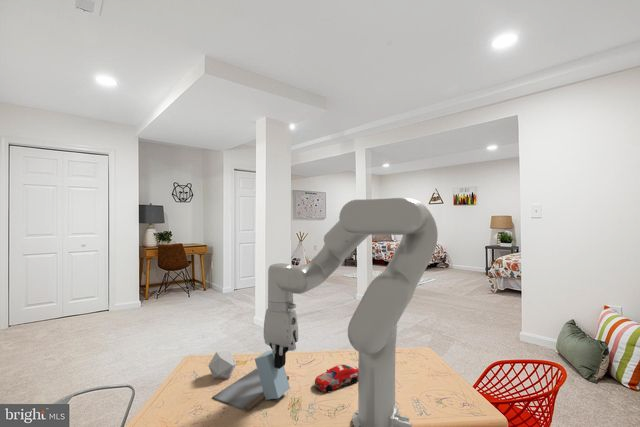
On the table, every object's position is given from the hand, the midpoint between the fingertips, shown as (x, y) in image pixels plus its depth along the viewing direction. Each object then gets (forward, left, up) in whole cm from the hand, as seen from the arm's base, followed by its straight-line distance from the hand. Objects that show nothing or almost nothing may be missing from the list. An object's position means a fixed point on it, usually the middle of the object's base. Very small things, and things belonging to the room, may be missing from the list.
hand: (279, 366), depth 96 cm
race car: (-12, -16, -10) cm, 22 cm away
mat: (+10, 0, -9) cm, 14 cm away
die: (+24, -1, -10) cm, 26 cm away
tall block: (+1, 0, -9) cm, 9 cm away
